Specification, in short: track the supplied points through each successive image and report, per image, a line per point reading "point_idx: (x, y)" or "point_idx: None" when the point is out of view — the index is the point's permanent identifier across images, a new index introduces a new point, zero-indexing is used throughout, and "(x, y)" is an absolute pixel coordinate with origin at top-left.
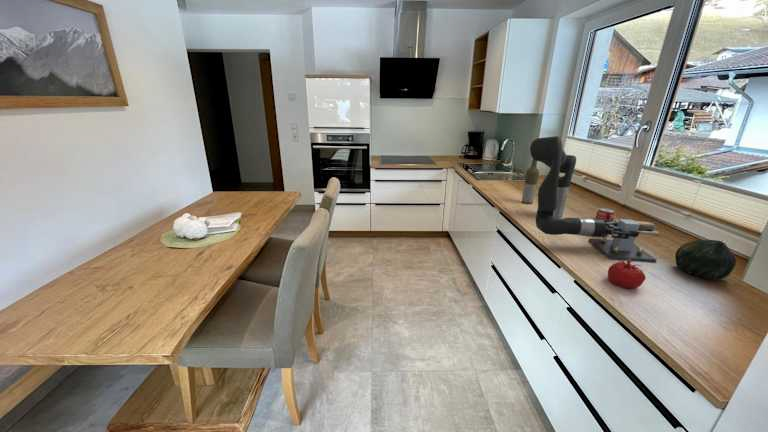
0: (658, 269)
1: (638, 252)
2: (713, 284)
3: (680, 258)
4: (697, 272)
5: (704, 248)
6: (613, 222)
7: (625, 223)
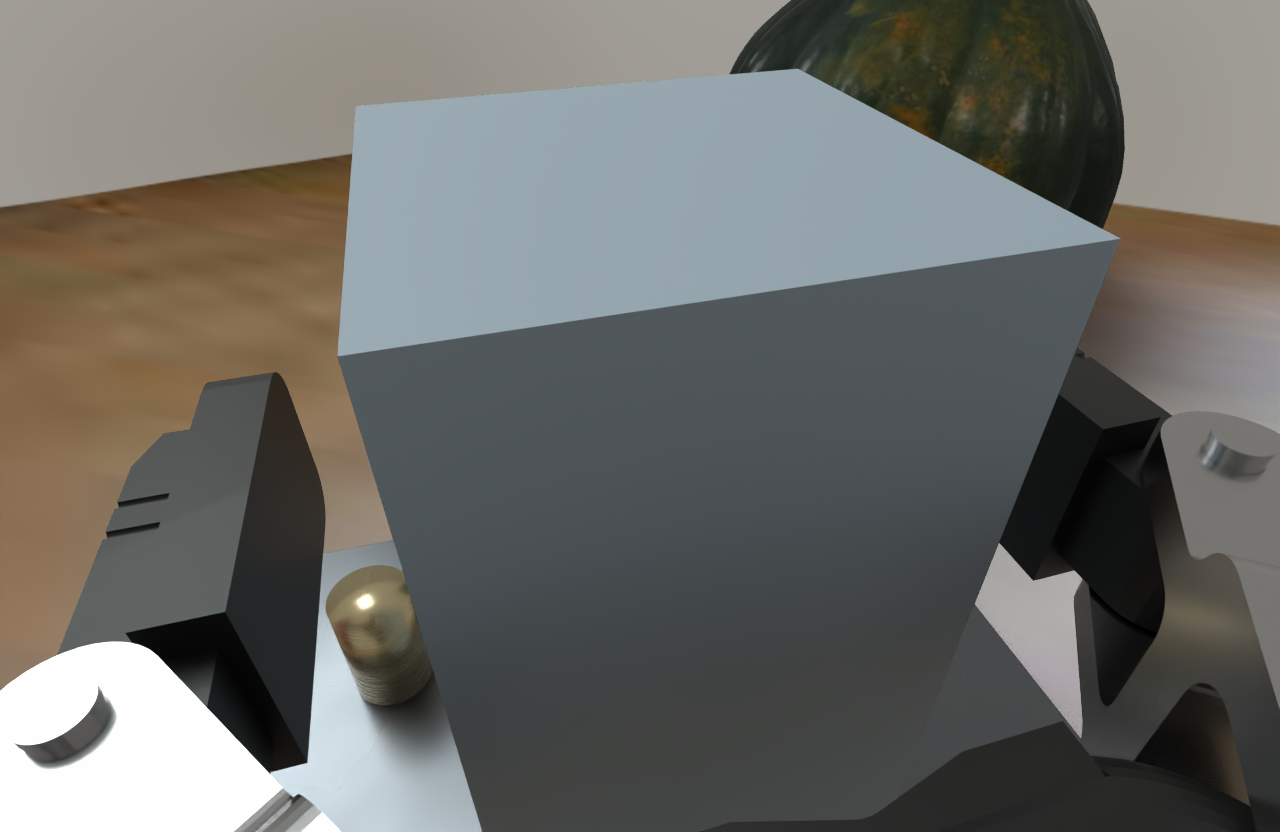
0: None
1: None
2: None
3: None
4: None
5: (1076, 7)
6: (103, 777)
7: (1070, 260)
